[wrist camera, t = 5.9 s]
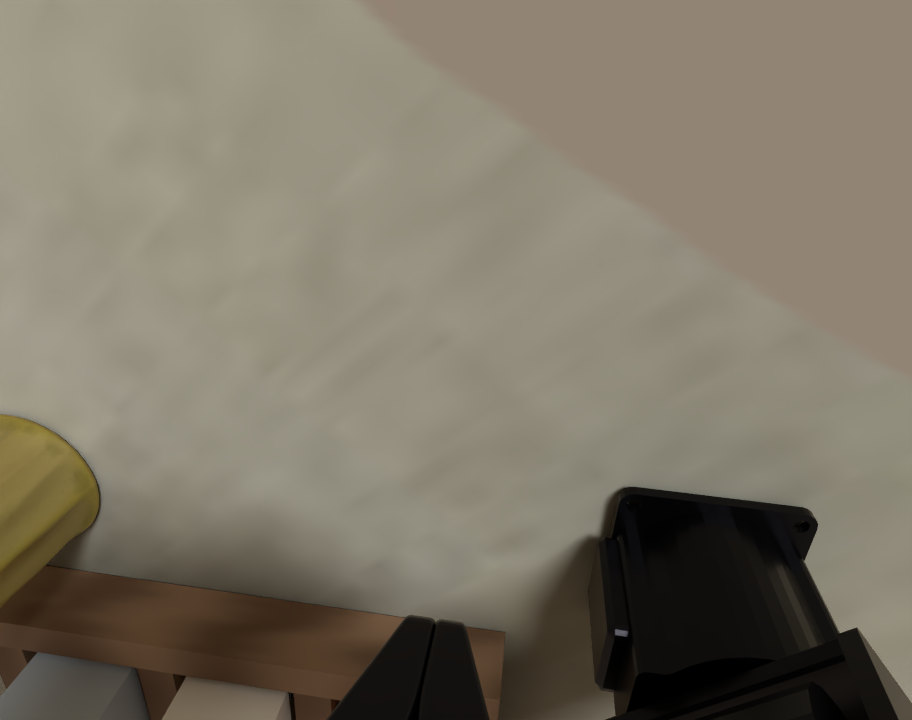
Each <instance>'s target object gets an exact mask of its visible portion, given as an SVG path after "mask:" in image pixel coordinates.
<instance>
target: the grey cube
mask: <svg viewBox="0 0 912 720" xmlns="http://www.w3.org/2000/svg"><path fill="white" fill-rule="evenodd" d="M0 720H150V718H149V714H148V710H147V707H146V703H145V699H144V695H143V692H142V688H141V684H140V681H139V677H138V673H137V670H136V668H134V667H127V666H121V665H115V664H108V663H102V662H96V661H90V660H83V659H77V658H71V657H65V656H58V655H52V654H46V653H40V652H37V654H36V655H35V656H34V657H33V658H32V660H31V661H30V662H29V663H28V664H27V666H26V667H25V668H24V669H23V670H22V671H21V673H20V674H19V675H18V676H17V677H16V679H15V680H14V681H13V682H12V683H11V685H10V686H9V687H8V688H7V689H6V690H5V692H4V693H3V694H2V695H1V696H0Z"/></svg>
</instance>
